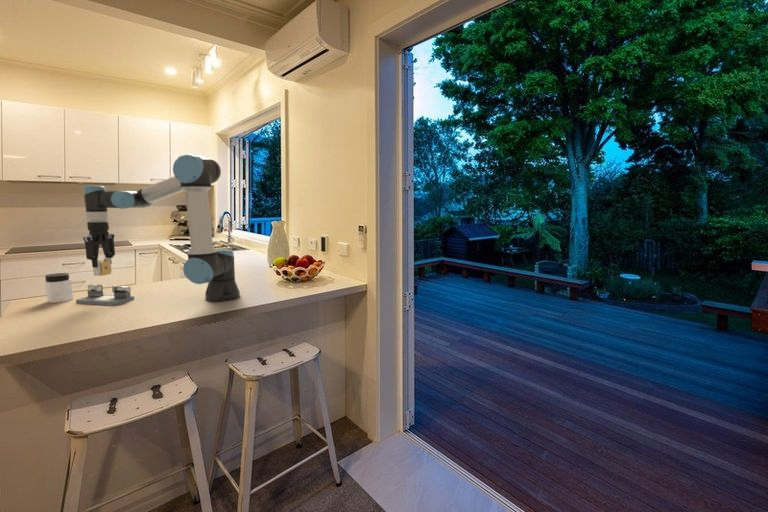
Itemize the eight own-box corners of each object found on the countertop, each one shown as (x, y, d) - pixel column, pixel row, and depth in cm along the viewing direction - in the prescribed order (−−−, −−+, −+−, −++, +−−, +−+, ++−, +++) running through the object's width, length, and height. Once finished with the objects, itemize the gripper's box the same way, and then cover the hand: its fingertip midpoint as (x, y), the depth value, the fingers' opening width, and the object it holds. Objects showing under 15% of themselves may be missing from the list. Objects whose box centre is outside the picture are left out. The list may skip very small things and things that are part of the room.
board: (134, 299, 173) (133, 295, 173) (116, 305, 163) (115, 301, 163) (96, 297, 176) (96, 293, 176) (76, 303, 166) (75, 299, 166)
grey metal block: (132, 296, 172) (131, 284, 171) (128, 298, 169) (126, 286, 168) (117, 296, 172) (116, 284, 171) (112, 298, 168) (111, 286, 167)
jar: (45, 304, 164) (42, 277, 162) (49, 299, 171) (45, 274, 169) (71, 301, 169) (68, 275, 167) (74, 297, 176) (71, 272, 174)
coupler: (111, 273, 170) (110, 260, 169) (102, 275, 165) (101, 262, 164) (102, 273, 170) (101, 260, 169) (93, 275, 166) (91, 261, 165)
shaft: (87, 296, 172) (85, 284, 171) (95, 294, 175) (94, 282, 174) (95, 297, 169) (94, 285, 168) (104, 296, 173) (103, 284, 172)
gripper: (107, 219, 173) (112, 269, 177) (70, 222, 156) (77, 276, 159) (122, 220, 172) (126, 269, 176) (86, 222, 155) (92, 277, 158)
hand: (103, 273), depth 167 cm, fingers closed on coupler, 5 cm apart
